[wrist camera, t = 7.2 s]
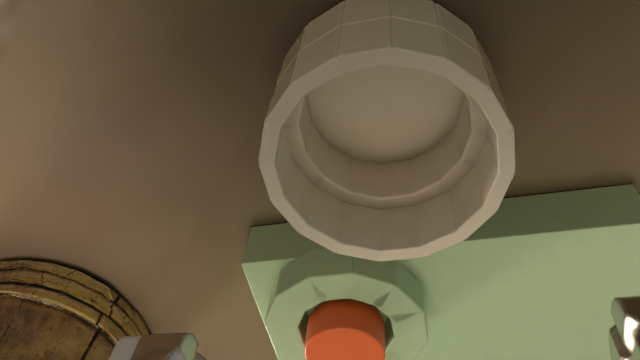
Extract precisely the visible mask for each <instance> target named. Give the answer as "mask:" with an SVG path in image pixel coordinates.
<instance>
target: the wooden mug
mask: <svg viewBox="0 0 640 360" xmlns="http://www.w3.org/2000/svg"><path fill="white" fill-rule="evenodd" d="M141 335H149V333H148V329H147V327H146V325H145V323H144V322H143V320H142V318H141V317H140V315H139V314H138V313H137V312H136V311H135V310H134V309H133V308H132V307H131V306H130V305H129V304H128V303H127V302H126V301H125V300H124V299H123V298H122V297H120V296H119V295H118V294H116V293H115V292H114V291H113V290H111V289H110V288H109V287H107V286H106V285H104V284H102V283H100V282H98V281H96V280H95V279H93V278H91V277H89V276H87V275H85V274H84V273H82V272H80V271H77V270H73V269H70V268H67V267H63V266H60V265H57V264H53V263H46V262H37V261H29V260H19V261H1V262H0V360H109V358H110V355H111V353H112V351H113V349H114V347H115V345H116V343H117V342H118V341H119V340H120V339H121V338H122V337H124V336H141Z"/></svg>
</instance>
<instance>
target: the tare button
mask: <svg viewBox="0 0 640 360" xmlns="http://www.w3.org/2000/svg"><path fill="white" fill-rule="evenodd" d="M304 353H305V357H306V359H307V360H385V323H384V320H383V318H382V316H381V315H380V313H379V312H378V311H377V310H376V309H374V308H373V307H372V306H370V305H368V304H366V303H364V302H360V301H357V300H352V299H339V300H331V301H327V302H325V303H323V304H321V305H319V306H318V307H316V308H315V309H314V310H313V311H312V313H311V314H310V316H309V319H308V324H307V332H306V340H305V348H304Z"/></svg>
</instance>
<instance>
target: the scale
mask: <svg viewBox="0 0 640 360" xmlns="http://www.w3.org/2000/svg"><path fill="white" fill-rule="evenodd" d="M241 265H242V267H243V270H244V273H245V275H246V278H247V280H248V283H249V285H250V288H251V291H252V293H253V296H254V298H255V301H256V303H257V306H258V309H259V311H260V314H261V316H262V319H263V322H264V324H265V327H266V329H267V332H268V334H269V337H270V340H271V342H272V345H273V347H274V350H275V352H276V355H277V358H278V360H307V359H306V357H305V353H304V348H305V340H306V332H307V324H308V319H309V316H310V314H311V313H312V311H313V310H314V309H315V308H316V307H318V306H319V305H321V304H323V303H325V302H327V301H331V300H339V299H352V300H357V301H360V302H364V303H366V304H368V305H370V306H372V307H373V308H374V309H376V310H377V311H378V312H379V313H380V315H381V316H382V318H383V320H384V323H385V360H611V355H610V347H609V329H610V328H611V327H613V326H614V325H615V322H614V319H613V317H612V314H611V306H612V301H613V299H614V298H618V297H629V296H640V195H639V193H638V191H637V189H636V188H635V186H634V184H628V185H619V186H611V187H602V188H593V189H584V190H575V191H566V192H558V193H549V194H540V195H531V196H522V197H513V198H504V199H503V200H502V202H501V204H500V206H499V209H498V210H497V211H496V213H495V214H494V215H492V216H491V217H490V218H489V219H488V220H487V221H486V222H485V223H484V224H482V225H481V226H480V227H479V228H478V229H477V230H476V231H475V232H473V233H472V234H471V235H470V236H469V237H468V238H467V239H464V241H462V242H459V243H457V244H455V245H452V246H450V247H448V248H445V249H443V250H440V251H438V252H436V253H433V254H431V255H428V256H426V257H424V256H423V257H422V258H412V259H402V260H391V261H373V260H368V259H363V258H358V257H352V256H347V255H342V254H337V253H334V252H332V251H330V250H329V249H327V248H325V247H323V246H321V245H319V244H318V243H316V242H314V241H312V240H310V239H308V238H307V237H305V236H303V235H301V234H299V232H297V231H296V230H295V229H294V228H293V227H292V225H291V224H290V223H283V224H274V225H265V226H257V227H251V229H250V233H249V237H248V240H247V244H246V248H245V251H244V255H243V259H242V262H241Z"/></svg>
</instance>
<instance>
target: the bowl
mask: <svg viewBox="0 0 640 360" xmlns="http://www.w3.org/2000/svg"><path fill="white" fill-rule="evenodd" d="M258 162H259V167H260V171H261V174H262V177H263V180H264V183H265V186H266V189H267V192H268V195H269V198H270V201H271V202H272V204H273V205H274V206H275V207H276V208H277V210H278V211H279V212H280V213H281V214H282V215H283V216H284V218H285V219H286V220H287V221H288V222H289V223H290V224H291V225H292V227H293V228H294V229H295V230H296V231H297V232H299V234H301V235H303V236H305V237H307V238H308V239H310V240H312V241H314V242H316V243H318V244H319V245H321V246H323V247H325V248H327V249H329V250H330V251H332V252H334V253H337V254H342V255H347V256H352V257H358V258H363V259H368V260H373V261H391V260H402V259H412V258H422V257H423V256H424V257H426V256H428V255H431V254H433V253H436V252H438V251H440V250H443V249H445V248H448V247H450V246H452V245H455V244H457V243H459V242H462V241H464V239H467V238H468V237H469V236H470V235H471V234H472V233H473V232H475V231H476V230H477V229H478V228H479V227H480V226H481V225H482V224H484V223H485V222H486V221H487V220H488V219H489V218H490V217H491V216H492V215H494V214H495V213H496V211H497V210H498V209H499V206H500V204H501V202H502V200H503V198H504V196H505V194H506V192H507V189H508V187H509V185H510V183H511V181H512V179H513V177H514V174H515V170H516V164H515V131H514V128H513V124H512V121H511V118H510V116H509V113H508V110H507V107H506V104H505V101H504V99H503V96H502V93H501V91H500V88H499V85H498V82H497V79H496V77H495V74H494V71H493V68H492V65H491V63H490V60H489V58H488V57H487V55H486V53H485V51H484V49H483V48H482V46H481V44H480V42H479V40H478V39H477V37H476V35H475V33H474V31H473V30H472V29H471V28H470V27H469V25H467V24H466V23H464V22H463V21H462V20H460V19H459V18H457V17H456V16H455V15H453V14H452V13H450V12H449V11H448V10H446V9H445V8H443V7H442V6H441V5H439V4H438V3H434V2H433V1H430V0H345V2H344V1H342V2H341V3H339V4H337V5H336V6H334V7H333V8H331V9H330V10H328V11H327V12H325V13H323V14H322V15H320V16H319V17H317V18H316V19H314V20H313V21H311V22H309V23H308V25H307V26H305V28H304V29H303V31H302V32H301V34H300V35H299V37H298V38H297V40H296V41H295V43H294V44H293V46H292V47H291V49H290V50H289V52H288V53H287V55H286V56H285V59H284V61H283V64H282V67H281V71H280V74H279V77H278V80H277V83H276V86H275V89H274V92H273V95H272V99H271V102H270V105H269V108H268V111H267V115H266V118H265V121H264V125H263V132H262V139H261V146H260V152H259V159H258Z"/></svg>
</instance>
